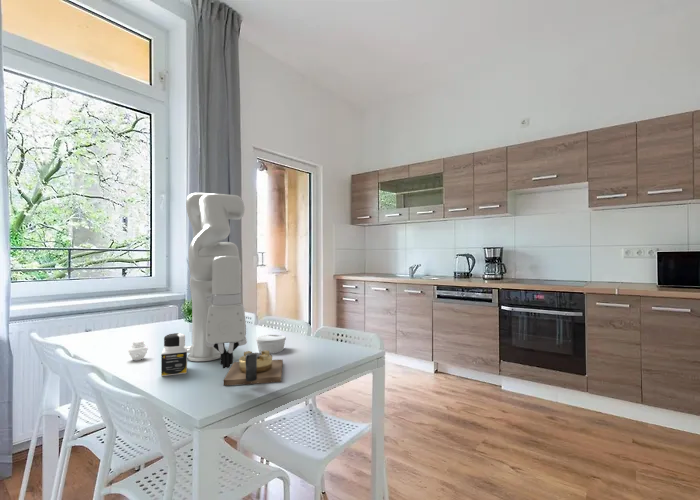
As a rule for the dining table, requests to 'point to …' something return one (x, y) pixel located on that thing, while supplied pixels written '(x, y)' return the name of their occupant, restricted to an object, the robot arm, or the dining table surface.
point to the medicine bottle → (174, 355)
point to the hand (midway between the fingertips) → (226, 366)
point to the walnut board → (262, 377)
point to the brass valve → (255, 364)
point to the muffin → (138, 350)
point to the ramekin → (271, 343)
